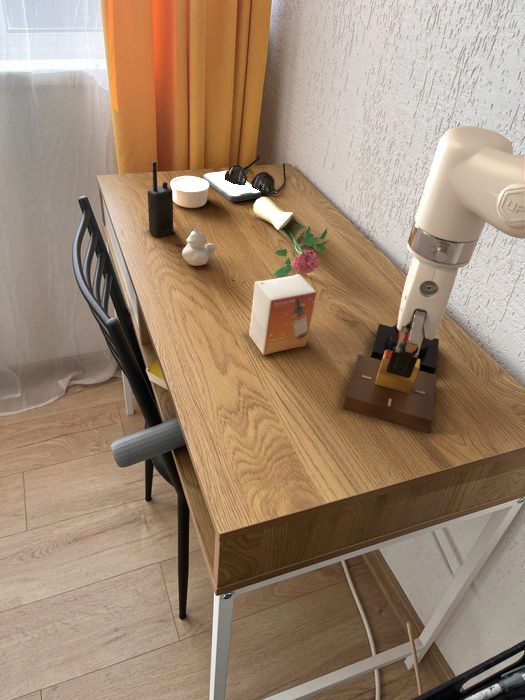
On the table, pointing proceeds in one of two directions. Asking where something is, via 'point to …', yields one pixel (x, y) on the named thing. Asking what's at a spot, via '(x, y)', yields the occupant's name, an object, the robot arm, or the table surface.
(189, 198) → the ramekin
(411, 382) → the yellow block
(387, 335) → the button box
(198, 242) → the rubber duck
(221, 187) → the phone case
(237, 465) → the table surface
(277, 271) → the toppled flower pot
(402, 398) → the plate
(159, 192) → the walkie-talkie
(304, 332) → the small box
